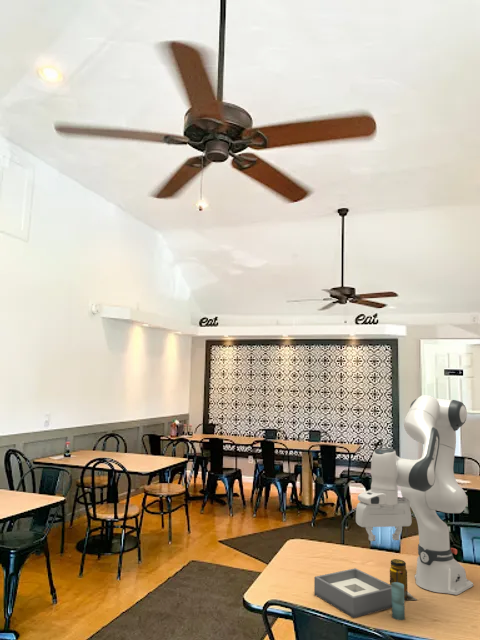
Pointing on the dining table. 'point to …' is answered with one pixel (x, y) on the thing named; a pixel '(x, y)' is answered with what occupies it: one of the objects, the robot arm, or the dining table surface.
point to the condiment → (400, 576)
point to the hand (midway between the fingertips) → (384, 540)
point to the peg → (398, 601)
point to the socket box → (353, 592)
